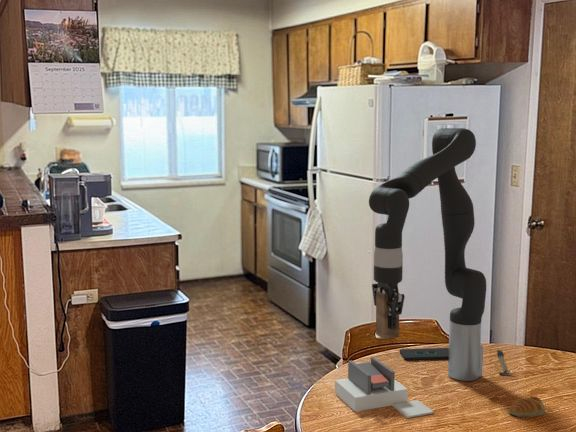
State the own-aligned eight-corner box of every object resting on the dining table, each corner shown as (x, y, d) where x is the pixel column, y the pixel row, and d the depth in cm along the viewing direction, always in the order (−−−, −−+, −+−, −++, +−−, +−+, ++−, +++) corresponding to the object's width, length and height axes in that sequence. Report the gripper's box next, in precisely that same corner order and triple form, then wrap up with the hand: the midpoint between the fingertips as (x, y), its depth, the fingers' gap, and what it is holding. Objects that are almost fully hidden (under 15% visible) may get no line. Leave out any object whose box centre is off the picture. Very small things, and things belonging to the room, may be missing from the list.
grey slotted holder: (384, 385, 203) (385, 354, 201) (407, 402, 191) (408, 370, 189) (334, 393, 197) (335, 361, 196) (355, 411, 185) (355, 378, 184)
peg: (390, 332, 188) (391, 289, 186) (399, 337, 184) (399, 293, 182) (375, 334, 186) (376, 290, 184) (383, 339, 182) (384, 295, 180)
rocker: (368, 365, 199) (369, 361, 199) (388, 385, 189) (389, 381, 188) (353, 368, 198) (353, 363, 197) (372, 388, 187) (372, 383, 186)
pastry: (521, 421, 179) (521, 407, 179) (502, 411, 185) (503, 398, 185) (547, 414, 184) (548, 400, 183) (528, 405, 190) (529, 391, 189)
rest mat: (417, 401, 191) (417, 400, 191) (433, 413, 184) (433, 411, 184) (392, 406, 188) (392, 404, 188) (407, 418, 181) (407, 416, 181)
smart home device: (398, 348, 230) (457, 346, 232) (398, 353, 231) (457, 351, 232) (405, 357, 222) (465, 355, 224) (404, 362, 222) (465, 360, 224)
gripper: (414, 267, 176) (413, 332, 179) (387, 256, 190) (386, 316, 192) (388, 270, 174) (387, 335, 176) (363, 259, 187) (362, 320, 190)
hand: (387, 325), depth 184 cm, fingers closed on peg, 4 cm apart
